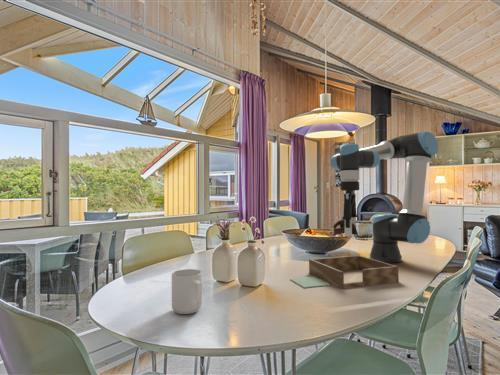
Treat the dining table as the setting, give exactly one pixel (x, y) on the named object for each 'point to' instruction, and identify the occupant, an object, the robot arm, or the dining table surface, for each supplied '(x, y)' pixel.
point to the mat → (310, 282)
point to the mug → (186, 291)
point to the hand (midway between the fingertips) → (350, 234)
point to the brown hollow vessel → (343, 228)
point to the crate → (370, 268)
